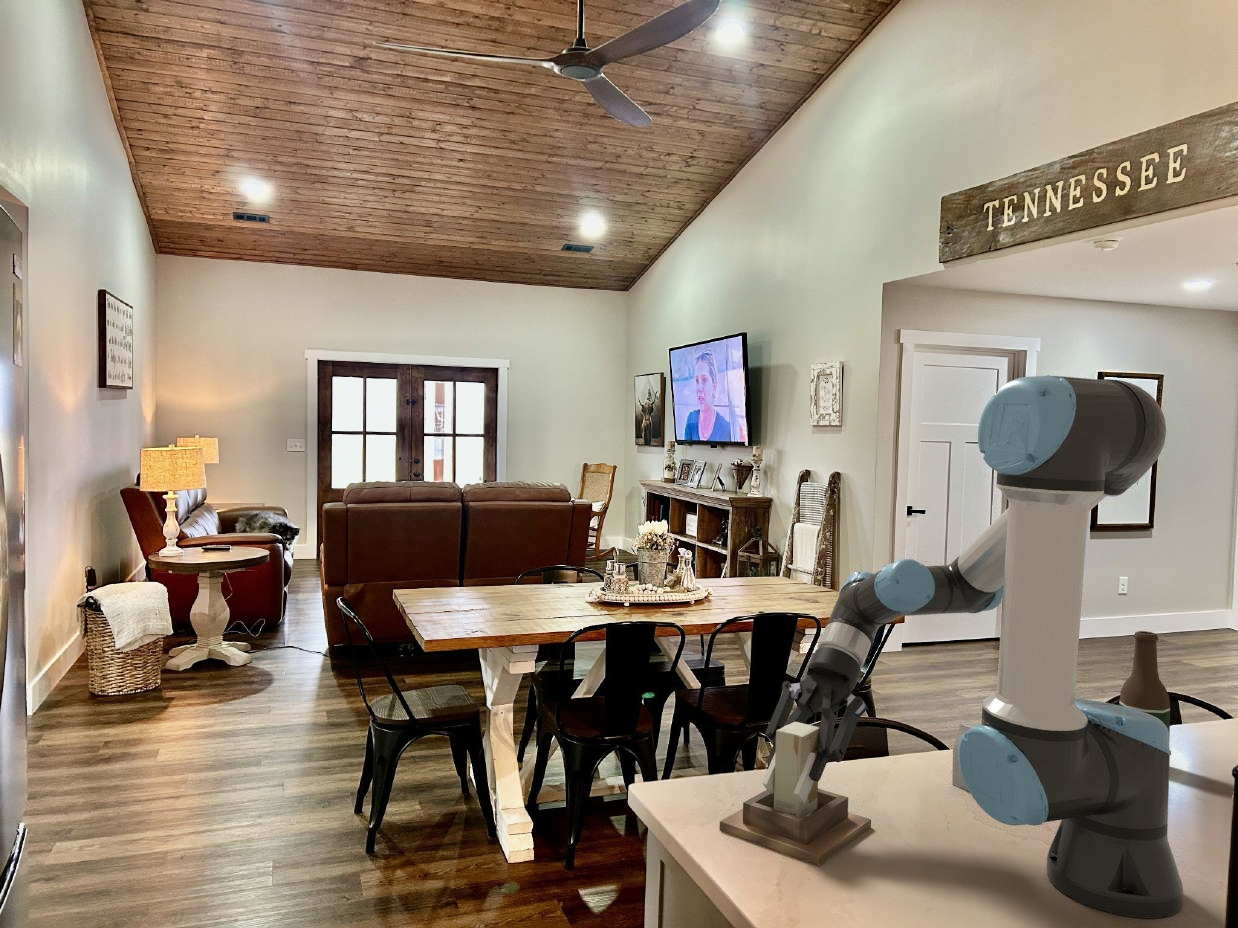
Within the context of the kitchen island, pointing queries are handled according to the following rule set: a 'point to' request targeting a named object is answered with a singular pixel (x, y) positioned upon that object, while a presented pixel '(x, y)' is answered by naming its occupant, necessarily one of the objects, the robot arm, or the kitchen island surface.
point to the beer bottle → (1146, 681)
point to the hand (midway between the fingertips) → (783, 792)
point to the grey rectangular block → (957, 775)
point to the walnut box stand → (798, 826)
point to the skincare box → (794, 767)
